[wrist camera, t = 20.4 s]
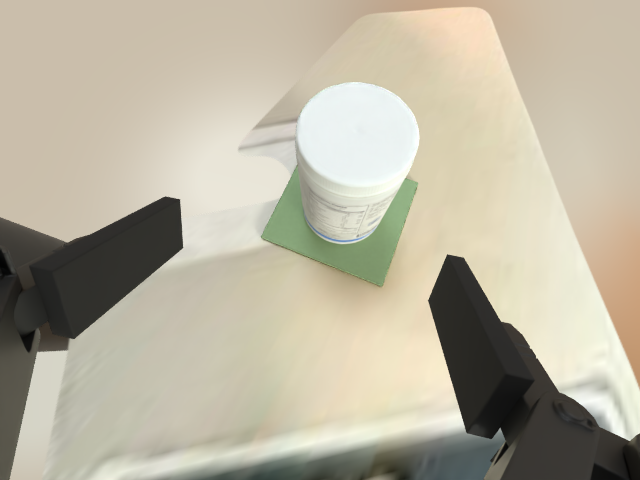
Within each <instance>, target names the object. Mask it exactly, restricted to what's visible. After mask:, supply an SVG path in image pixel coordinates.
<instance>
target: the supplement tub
mask: <svg viewBox="0 0 640 480" xmlns="http://www.w3.org/2000/svg"><path fill="white" fill-rule="evenodd" d="M418 144H419V130H418V125H417V122H416V119H415V117H414V115H413V113H412V111H411V110H410V108H409V107H408V106H407V105H406V103H405V102H404V101H403V100H401V99H400V98H399V97H398V96H397V95H395V94H394V93H392V92H390V91H388V90H387V89H384V88H382V87H379V86H376V85H373V84H369V83H361V82H350V83H342V84H337V85H334V86H331V87H328V88H326V89H324V90H322V91H320V92H319V93H317V94H316V95H315V96H314V97H312V98H311V99H310V100H309V101H308V102H307V104H306V105H305V106H304V108H303V109H302V111H301V113H300V115H299V118H298V121H297V126H296V138H295V148H296V157H297V165H298V173H299V181H300V189H301V197H302V205H303V211H304V216H305V219H306V221H307V223H308V225H309V227H310V228H311V229H312V230H313V231H314V232H315V233H316V234H317V235H318V236H319V237H321V238H323V239H324V240H326V241H329V242H332V243H337V244H351V243H355V242H358V241H361V240H363V239H365V238H366V237H368V236H369V235H370V234H371V233H373V231H374V230H375V229H376V228H377V226H378V225H379V223H380V221H381V219H382V218H383V216H384V214H385V213H386V211H387V209H388V207H389V206H390V204H391V202H392V200H393V199H394V197H395V195H396V193H397V192H398V190H399V188H400V186H401V184H402V183H403V181H404V179H405V177H406V176H407V174H408V172H409V170H410V168H411V166H412V164H413V161H414V157H415V155H416V152H417V149H418Z"/></svg>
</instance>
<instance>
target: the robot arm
mask: <svg viewBox="0 0 640 480" xmlns="http://www.w3.org/2000/svg"><path fill="white" fill-rule="evenodd" d="M182 248H183V238H182V223H181V208H180V199H175V198H170V197H163V198H161V199H159V200H157V201H155V202H153V203H151V204H149V205H147V206H146V207H144V208H142V209H140V210H138V211H136V212H134V213H132V214H130V215H128V216H126V217H124V218H122V219H120V220H118V221H116V222H114V223H112V224H110V225H108V226H106V227H104V228H102V229H100V230H98V231H96V232H94V233H92V234H90V235H87V236H84V237H80V238H76V239H74V240H72V241H70V242H68V243H66V244H64V245H63V247H62V246H60V247H58V248H56V249H54V250H53V251H52V252H48V253H46V254H44V255H42V256H40V257H38V258H36V259H34V260H32V261H30V262H28V263H26V264H24V265H22V266H20V267H18V268H16V269H15V266H14V263H13V261H12V258H11V255H10V253H9V250H8V248H6V247H5V246H2V245H0V480H9V479H10V474H11V469H12V465H13V460H14V456H15V451H16V446H17V442H18V437H19V433H20V428H21V424H22V419H23V414H24V410H25V405H26V400H27V396H28V391H29V387H30V382H31V377H32V373H33V368H34V364H35V359H36V354H37V350H38V345H39V341H40V332H39V329H38V327H40V326H41V325H43V324H44V323H46V322H47V321H48V322H49V325H50V327H51V330H52V333H53V334H55V335H59V336H63V337H67V338H71V339H75V338H76V337H77V336H78V335H79V334H81V333H82V332H83V331H84V330H85V329H87V328H88V327H89V326H90V325H91V324H93V323H94V322H95V321H96V320H97V319H99V318H100V317H101V316H102V315H103V314H105V313H106V312H107V311H108V310H109V309H111V308H112V307H113V306H114V305H115V304H117V303H118V302H119V301H120V300H121V299H123V298H124V297H125V296H126V295H127V294H129V293H130V292H131V291H132V290H133V289H134V288H136V287H137V286H138V285H139V284H140V283H142V282H143V281H144V280H145V279H146V278H148V277H149V276H150V275H151V274H152V273H154V272H155V271H156V270H157V269H158V268H160V267H161V266H162V265H163V264H164V263H166V262H167V261H168V260H169V259H170V258H172V257H173V256H174V255H175V254H176V253H178V252H179V251H180V250H181V249H182ZM428 302H429V305H430V308H431V312H432V315H433V319H434V322H435V326H436V329H437V333H438V336H439V339H440V343H441V346H442V350H443V353H444V357H445V360H446V363H447V367H448V370H449V374H450V377H451V381H452V384H453V388H454V391H455V394H456V398H457V401H458V405H459V408H460V412H461V415H462V419H463V422H464V425H465V429H466V432H467V433H468V434H473V435H477V436H481V437H485V438H489V439H492V438H493V437H494V435H495V434H496V433H497V431H498V430H499V428H500V427H501V430H502V433H503V435H504V438H505V440H506V441H505V443H504V444H503V445H502V446H501V448H500V449H499V450H498V451H497V453H496V454H495V455H494V457H493V458H492V459H491V460H490V461H491V462H492V465H491V466H490V468H489V470H488V472H487V474H486V476H485V478H484V479H483V480H640V434H638V435H636V436H635V437H634V438H633V439H632V440H631V441H628V440H626V439H624V438H622V437H620V436H618V435H615V434H613V433H611V432H609V431H607V430H605V429H603V428H600V427H599V426H598V424H597V422H596V420H595V419H594V417H593V416H592V415H591V414H590V413H589V412H588V411H587V410H586V409H585V408H584V407H583V406H582V405H580V404H579V403H578V402H576V401H575V400H574V399H572V398H570V397H568V396H566V395H564V394H562V393H559V391H558V390H557V388H556V387H555V385H554V384H553V382H552V381H551V379H550V377H549V376H548V374H547V373H546V371H545V370H544V368H543V366H542V365H541V363H540V362H539V360H538V359H536V355H535V354H534V352H533V351H532V349H530V346H529V345H528V343H527V341H526V340H525V338H524V337H523V335H522V334H521V333H520V332H519V331H518V330H517V329H515V328H514V327H513V326H512V325H511V324H509V323H504V322H501V321H500V319H499V317H498V316H497V314H496V312H495V311H494V309H493V307H492V305H491V304H490V302H489V300H488V299H487V297H486V295H485V293H484V292H483V290H482V288H481V287H480V285H479V283H478V281H477V280H476V278H475V276H474V275H473V273H472V271H471V269H470V268H469V266H468V264H467V263H466V261H465V259H464V258H462V257H457V256H452V255H448V254H447V256H446V259H445V261H444V264H443V266H442V268H441V271H440V273H439V276H438V278H437V281H436V283H435V285H434V288H433V290H432V293H431V295H430V298H429V300H428Z"/></svg>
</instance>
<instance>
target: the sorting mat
mask: <svg viewBox="0 0 640 480" xmlns="http://www.w3.org/2000/svg"><path fill="white" fill-rule="evenodd" d="M417 185H418V183H417V182H414V181H412V180H409V179H406V178H405V179H404V181H403V183H402V184H401V186H400V188H399V190H398V192H397V193H396V195H395V197H394V199H393V200H392V202H391V204H390V206H389V207H388V209H387V211H386V213H385V214H384V216H383V218H382V219H381V221H380V223H379V225H378V226H377V228H376V229H375V230H374V231H373V233H371V234H370V235H369V236H368V237H366V238H365V239H363V240H361V241H358V242H355V243H351V244H337V243H332V242H329V241H326V240H324V239H323V238H321V237H319V236H318V235H317V234H316V233H315V232H314V231H313V230H312V229H311V228H310V227H309V225H308V223H307V221H306V219H305V216H304V211H303V205H302V197H301V189H300V181H299V173H298V165H297V167H296V169H295V171H294V173H293V175H292V177H291V179H290V181H289V182H288V185H287V187H286V188H285V190H284V192H283V194H282V196H281V198H280V200H279V202H278V204H277V206H276V208H275V210H274V212H273V214H272V216H271V218H270V220H269V222H268V224H267V226H266V228H265V230H264V232H263V234H262V236H261V238H263V239H265V240H268V241H270V242H272V243H275V244H277V245H280V246H282V247H285V248H287V249H290V250H292V251H295V252H297V253H300V254H302V255H305V256H307V257H310V258H312V259H315V260H317V261H320V262H322V263H324V264H327V265H329V266H332V267H334V268H337V269H339V270H342V271H344V272H347V273H349V274H352V275H354V276H357V277H359V278H362V279H364V280H367V281H369V282H372V283H374V284H377V285H379V286H383V283H384V280H385V277H386V274H387V271H388V268H389V266H390V263H391V260H392V257H393V254H394V251H395V248H396V245H397V243H398V240H399V237H400V234H401V231H402V228H403V225H404V222H405V220H406V217H407V214H408V211H409V208H410V205H411V202H412V200H413V197H414V194H415V191H416V188H417Z"/></svg>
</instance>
